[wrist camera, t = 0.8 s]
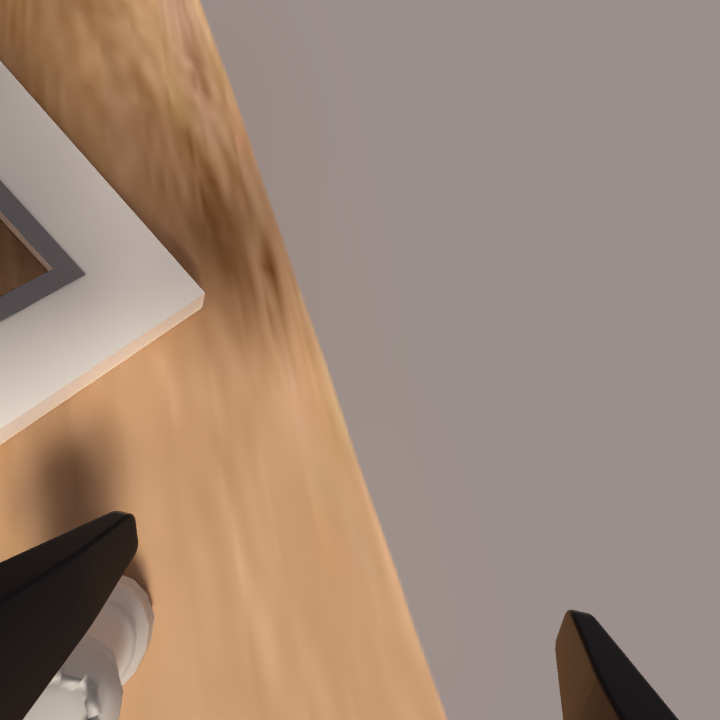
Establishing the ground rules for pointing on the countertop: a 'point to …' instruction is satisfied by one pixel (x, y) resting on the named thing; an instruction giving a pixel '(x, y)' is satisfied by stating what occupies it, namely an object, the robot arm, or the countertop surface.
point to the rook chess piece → (101, 660)
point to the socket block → (73, 269)
